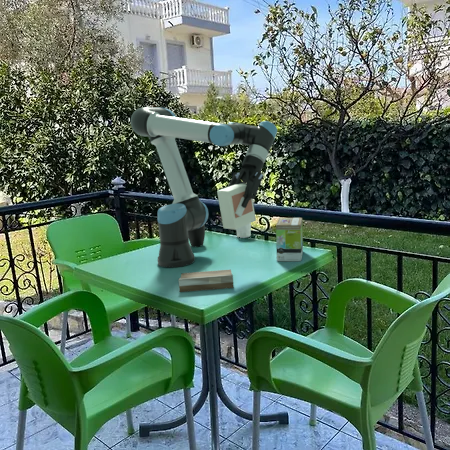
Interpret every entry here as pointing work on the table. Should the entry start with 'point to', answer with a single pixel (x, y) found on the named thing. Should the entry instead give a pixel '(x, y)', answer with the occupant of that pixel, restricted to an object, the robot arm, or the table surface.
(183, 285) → the shelf board
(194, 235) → the mug
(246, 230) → the white cup
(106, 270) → the table surface
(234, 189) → the cream carton
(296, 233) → the tea box
